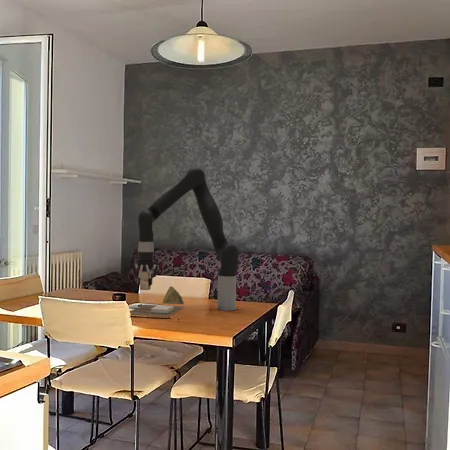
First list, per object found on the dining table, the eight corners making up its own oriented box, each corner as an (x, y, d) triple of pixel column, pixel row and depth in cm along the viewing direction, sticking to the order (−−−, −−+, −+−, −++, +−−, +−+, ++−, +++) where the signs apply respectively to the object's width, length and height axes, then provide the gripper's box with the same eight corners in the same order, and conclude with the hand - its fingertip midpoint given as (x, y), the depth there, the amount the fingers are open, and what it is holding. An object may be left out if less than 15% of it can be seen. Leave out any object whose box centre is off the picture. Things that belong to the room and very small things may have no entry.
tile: (158, 305, 261) (151, 308, 251) (173, 306, 259) (167, 309, 249) (157, 309, 261) (151, 312, 251) (173, 310, 259) (167, 313, 249)
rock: (189, 301, 280) (176, 296, 287) (183, 289, 276) (170, 284, 282) (176, 315, 275) (163, 310, 281) (170, 303, 270) (157, 298, 277)
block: (142, 288, 265) (143, 270, 265) (150, 289, 264) (150, 271, 264) (140, 289, 261) (140, 271, 261) (147, 290, 260) (148, 271, 260)
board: (144, 306, 274) (144, 304, 274) (185, 309, 269) (185, 306, 269) (123, 316, 246) (123, 314, 246) (168, 319, 242) (168, 316, 242)
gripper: (162, 250, 265) (161, 285, 265) (135, 249, 267) (134, 284, 268) (157, 251, 257) (156, 287, 258) (129, 250, 260) (128, 285, 260)
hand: (145, 285), depth 263 cm, fingers closed on block, 4 cm apart
